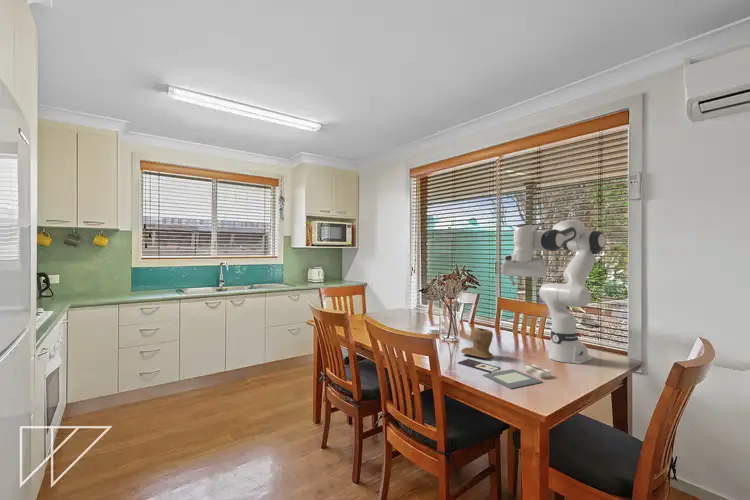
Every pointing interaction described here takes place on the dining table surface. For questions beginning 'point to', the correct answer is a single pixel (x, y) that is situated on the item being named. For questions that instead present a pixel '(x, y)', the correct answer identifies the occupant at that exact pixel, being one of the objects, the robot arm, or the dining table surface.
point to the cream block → (537, 371)
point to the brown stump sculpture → (480, 343)
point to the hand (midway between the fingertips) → (523, 286)
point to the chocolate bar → (479, 365)
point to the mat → (512, 378)
